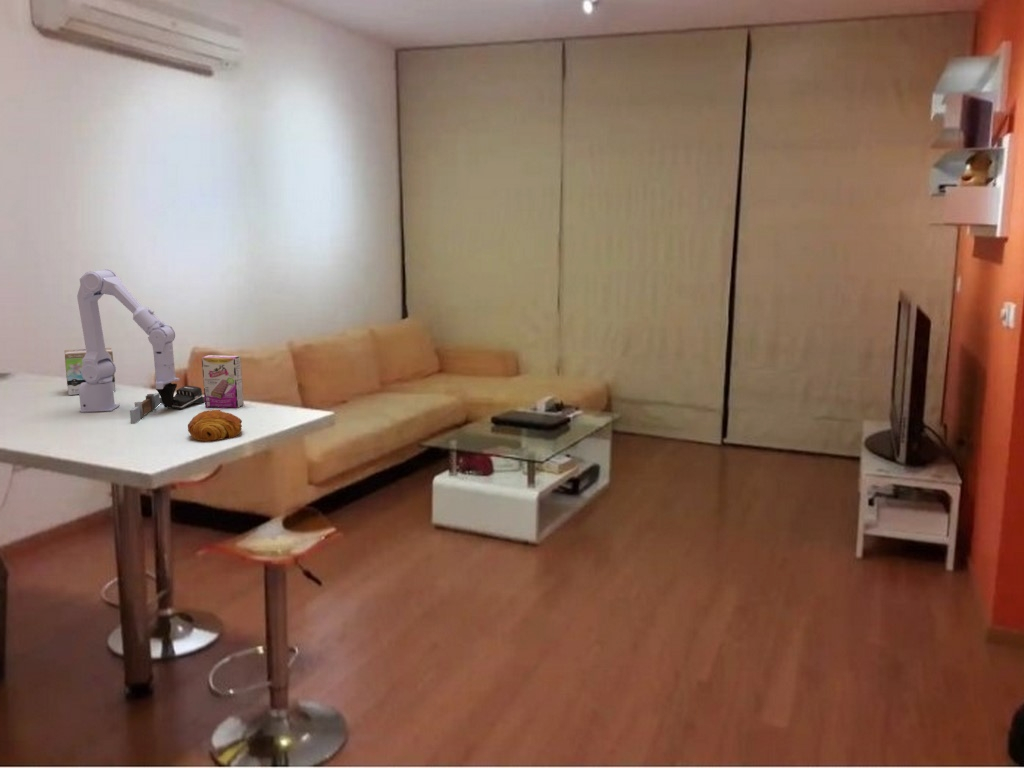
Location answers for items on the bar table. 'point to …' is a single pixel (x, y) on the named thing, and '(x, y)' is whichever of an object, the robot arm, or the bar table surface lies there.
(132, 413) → the fence
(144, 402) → the gate
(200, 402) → the bar
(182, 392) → the battery charger
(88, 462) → the bar table surface
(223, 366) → the candy bar box
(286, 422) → the bar table surface
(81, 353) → the tea box
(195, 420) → the croissant
